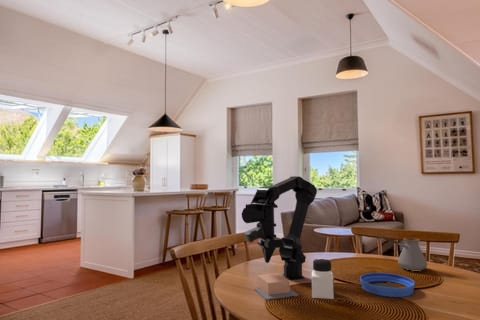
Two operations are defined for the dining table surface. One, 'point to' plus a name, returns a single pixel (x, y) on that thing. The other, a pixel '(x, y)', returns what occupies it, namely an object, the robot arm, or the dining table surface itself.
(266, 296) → the mat
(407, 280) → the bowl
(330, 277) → the medicine bottle
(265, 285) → the terracotta block
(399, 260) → the coffee pot
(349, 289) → the dining table surface
